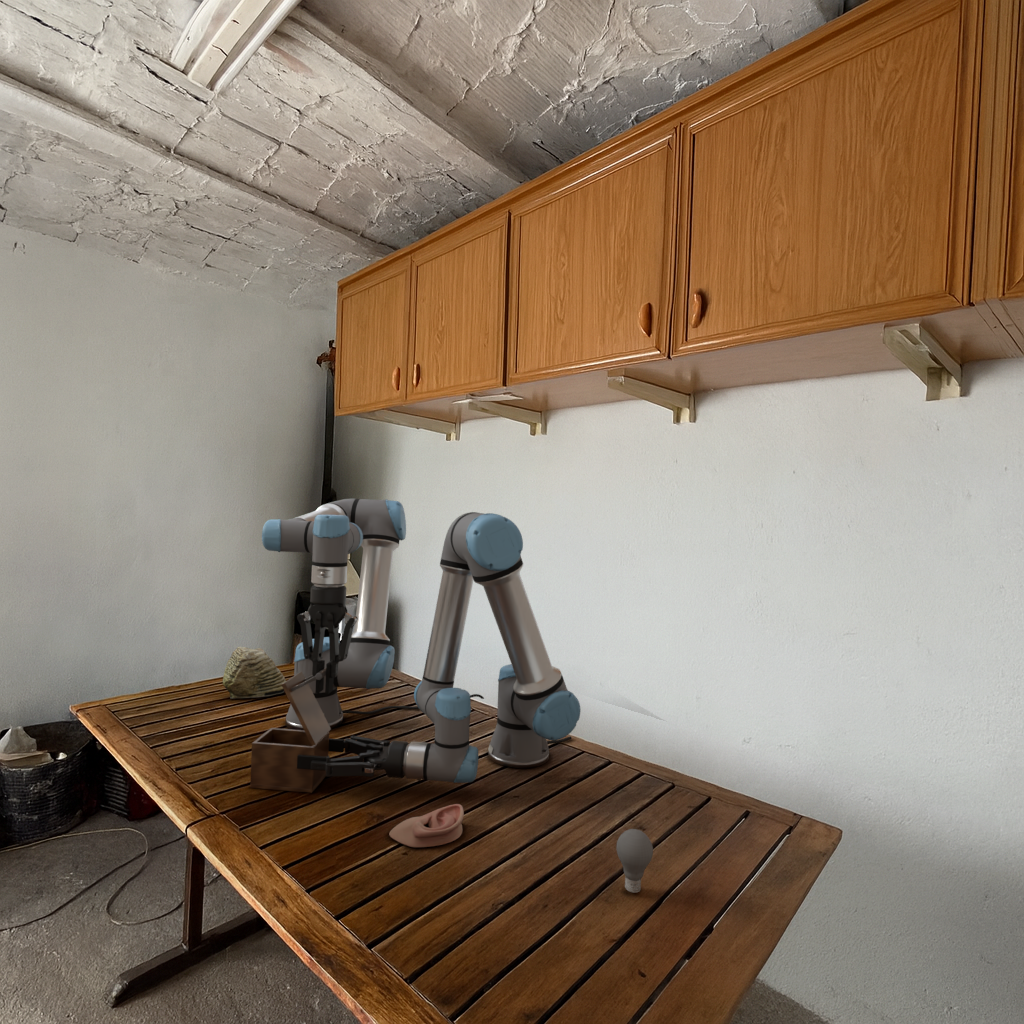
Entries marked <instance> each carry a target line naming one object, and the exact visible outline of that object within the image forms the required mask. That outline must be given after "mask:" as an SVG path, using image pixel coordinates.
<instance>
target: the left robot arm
mask: <svg viewBox="0 0 1024 1024" xmlns="http://www.w3.org/2000/svg"><path fill="white" fill-rule="evenodd" d="M406 535H407V521H406V513H405V508H404V506H403V504H402V502H400V501H398V500H392V499H391V500H390V499H387V498H386V499H371V498H370V499H369V498H344V499H339V500H335V501H331V502H328V503H324V504H322V505H320V506H318V507H317V509H316V510H314V511H311V512H308V513H305V514H302V515H299V516H296V517H294V518H293V517H292V518H289V519H281V518H278V519H268V520H267V521H265V523H264V524H263V527H262V531H261V542H262V546H263V548H264V549H265V550H267V551H270V552H278V553H282V552H283V553H284V552H285V553H308V554H310V553H311V554H312V560H311V561H312V562H311V578H310V579H311V581H310V582H311V584H312V586H311V587H310V600H309V601H310V605H309V606H308V609H307V611H305V612H302V613H299V614H298V615H297V616H296V619H297V621H298V623H299V625H300V632H301V641H302V642H300V643H298V644H297V645H296V648H295V655H294V660H293V662H294V672H293V676H295V675H297V674H298V673H300V672H303V674H304V676H305V678H308V677H310V676H312V675H313V676H314V677H315V675H316V674H317V673H318V672H320V671H321V670H323V669H324V668H325V667H326V676H324V677H323V678H322V679H320V680H317V679H316V680H314V681H312V682H310V683H308V684H309V686H310V688H311V690H312V692H313V694H314V696H315V698H316V700H317V702H318V704H319V706H320V708H321V710H322V712H323V714H324V716H325V718H326V720H327V722H328V724H329V726H330V728H331V730H332V729H335V728H337V727H339V726H340V725H342V723H343V722H344V714H353V715H355V714H356V715H372V714H373V715H374V714H376V713H379V712H382V711H386V710H394V709H399V710H400V709H401V710H402V709H403V710H420V709H419V708H418V706H408V705H390V706H384V707H380V708H377V709H375V710H371V711H359V710H344V709H342V706H341V702H340V699H339V695H338V688H349V689H352V688H353V689H366V690H367V689H368V690H370V689H382V688H384V687H385V686H386V685H387V684H388V682H389V680H390V677H391V675H392V671H393V668H394V662H395V652H396V650H395V647H394V646H392V645H390V641H391V639H390V638H389V637H388V635H387V634H386V626H387V617H388V616H387V615H388V609H389V608H388V607H389V606H388V605H389V597H390V585H391V577H392V568H393V567H392V566H393V558H394V557H393V556H394V552H395V551H396V550H397V549H398V548H399V546H400V541H401V542H402V541H404V540H406V538H407V537H406ZM360 547H362V558H361V566H360V567H361V568H360V576H359V585H358V592H357V593H358V594H357V595H358V596H357V601H356V604H357V605H356V610H355V611H356V612H355V615H354V616H353V615H352V614H350V613H349V612H348V608H347V606H346V603H347V587H346V584H347V583H348V560H349V558H348V557H349V555H350V554H353V553H355V551H357V550H359V548H360ZM311 619H312V621H313V622H314V638H313V635H312V626H311ZM343 620H344V624H345V625H344V628H343V633H342V638H341V641H340V637H339V636H340V635H339V633H340V632H339V631H340V624H341V622H342V621H343ZM326 630H327V632H328V636H325V631H326ZM475 697H476V698H477V697H478V698H480V699H482V700H484V699H485V697H484V696H483V695H481V694H479V693H473V694H470V699H471V698H475ZM285 726H286V728H287V729H292V730H304V729H303V727H302V725H301V723H300V721H299V719H298V717H297V715H296V713H295V711H294V709H293V707H292V705H291V703H290V704H289V708H288V711H287V713H286V715H285Z"/></svg>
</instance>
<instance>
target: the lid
mask: <svg viewBox="0 0 1024 1024" xmlns="http://www.w3.org/2000/svg"><path fill="white" fill-rule="evenodd" d="M324 676H326V667H325V668H324V669H323V670H321V671H320V672H318V673H317V674H316V675H315V677H314V676H313V675H312V676H310V677H308V678H305V676H304V674H303V672H300V673H298V674H297V675H295V676H294V675H293V676H292V677H290V678H289V679H288V680H286V682H284V683H283V684H281V685H282V687H283V689H284V693H285V695H286V697H287V699H288V701H289V703H290V704H291V705H292V707H293V709H294V711H295V713H296V715H297V717H298V719H299V721H300V723H301V725H302V727H303V729H304V731H305V733H306V735H307V737H308V739H309V741H310V743H311V745H312V746H314V745H316V744H317V743H318V742H319V741H320V740H321V739H322V738H323V737H324V736H325V735H326V734H327V733H328V732H329V733H330V731H331V730H332V729H331V728H330V726H329V724H328V722H327V720H326V718H325V716H324V714H323V712H322V710H321V708H320V706H319V704H318V702H317V700H316V698H315V696H314V694H313V692H312V690H311V688H310V686H309V684H308V683H310V682H312V681H314V680H316V679H317V680H320V679H322V678H323V677H324Z"/></svg>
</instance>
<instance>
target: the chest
mask: <svg viewBox="0 0 1024 1024" xmlns="http://www.w3.org/2000/svg"><path fill="white" fill-rule="evenodd" d="M329 738H330V731H329V732H328V733H327V734H326V735H325V736H324V737H323V738H322V739H321V740H320V741H319V742H318V743H317V744H316V745H314V746H312V745H311V743H310V741H309V739H308V737H307V735H306V733H305V731H304V730H292V729H289V728H278V727H270V728H269V729H268V730H267V731H265V732H264V733H263V734H261V735H260V736H259V737H258V738H256V739H255V740H254V741H253V742H251V755H250V757H251V760H250V785H249V787H250V789H260V790H261V789H262V790H273V791H275V790H276V791H285V792H286V791H287V792H297V793H310V794H312V793H314V792H315V790H316V789H317V788H318V787H319V785H320V784H321V783H322V782H323V781H324V779H325V778H327V776H326V771H323V770H310V769H297V756H298V755H311V756H325V757H327V756H329V753H330V751H329Z"/></svg>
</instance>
